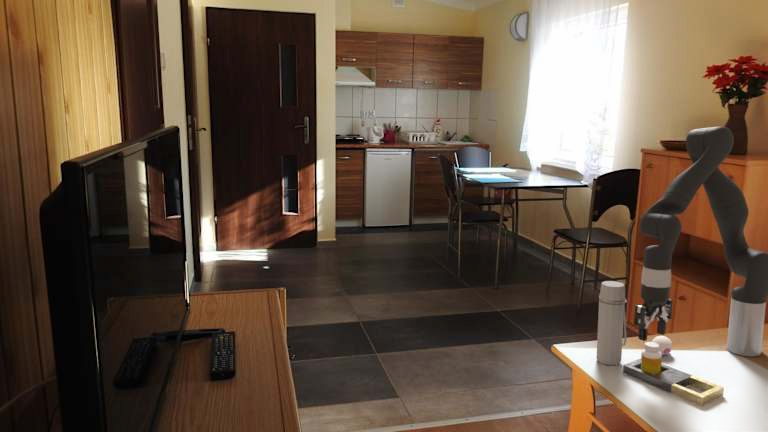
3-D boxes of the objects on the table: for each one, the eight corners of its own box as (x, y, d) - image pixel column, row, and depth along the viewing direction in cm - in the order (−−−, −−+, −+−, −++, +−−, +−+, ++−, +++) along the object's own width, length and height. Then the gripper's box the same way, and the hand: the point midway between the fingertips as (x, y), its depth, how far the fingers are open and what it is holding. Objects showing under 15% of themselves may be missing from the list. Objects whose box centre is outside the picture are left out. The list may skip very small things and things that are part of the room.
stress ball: (652, 358, 183) (640, 341, 183) (675, 347, 180) (663, 329, 181) (656, 367, 176) (643, 349, 176) (680, 355, 173) (667, 337, 174)
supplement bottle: (662, 380, 160) (665, 348, 159) (642, 379, 161) (644, 347, 160) (657, 372, 166) (659, 341, 164) (638, 371, 167) (640, 340, 165)
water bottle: (605, 368, 169) (609, 288, 165) (590, 357, 177) (594, 281, 172) (632, 365, 171) (637, 286, 167) (617, 354, 178) (620, 278, 174)
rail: (643, 364, 171) (644, 357, 170) (723, 396, 151) (723, 387, 150) (622, 372, 166) (623, 365, 165) (701, 406, 146) (702, 397, 145)
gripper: (659, 276, 166) (655, 328, 168) (628, 283, 159) (624, 337, 161) (683, 282, 159) (678, 336, 162) (652, 290, 152) (648, 346, 155)
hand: (651, 336), depth 162 cm, fingers open, 8 cm apart
